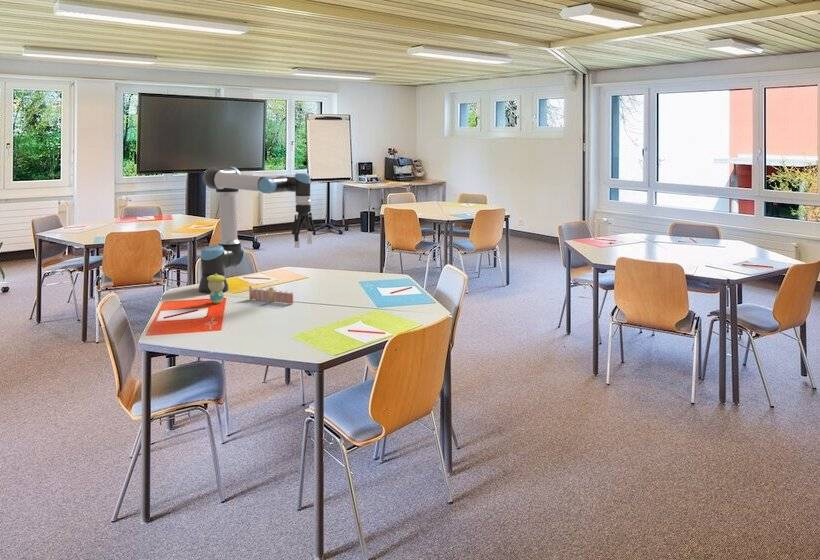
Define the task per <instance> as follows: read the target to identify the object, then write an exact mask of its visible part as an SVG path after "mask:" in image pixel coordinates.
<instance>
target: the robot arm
mask: <svg viewBox="0 0 820 560" xmlns="http://www.w3.org/2000/svg"><path fill="white" fill-rule="evenodd" d="M202 179H203V183H204V185H205V186H207V188H209V189H212V190H215V193H216V194H217V195H218V197H219V202H218V203H219V216H220V217H219V219H220V223H219V224H220V241H218V244H213V245H208V246H204V247H202V249H201V250H200V266H201V268H200V271H201V278H200V280H199V285H198V291H199V293H203V294H210V293H211V290H210V289H209V287H208V282H209V281H208V280H207V277H208V276H210V275H215V274H217V275H222V276H224V277H225V280H224V288H223V290H222V292H223V293H225V292H228V291H229V284H228V281H227V279H226V275H225V273H226V272H225V269H229V268H234V267H237V266H240V265H241V264H243V262H244V261H245V259H246V251H245V248H244V246H243V245H242V244H241V240H239V238H238V220H237V218H238V217H237V216H238V215H237V195H238V193H239V190H241V191H242V190H245V191H250V192H251V191H252V192H261V193H263V194H273V193H283V192H284V193H285V192H291V193H293V192H294V195H295V197H294V198H295V199H294V200H295V212H296V213H298V214H294V219H293V220H294V221H293V225H292V229H291V234H292V235H293V236H294V238H293V239H294V242H293V243H294V248H296V249H301V234H300V232H301V229H302V227H303V225H305V227H306V229H307V232H306V239H307V240H306V244H307V245H313V240H314V239H313V235H314V234H313V233H314V232H315V229H316V228H315V223H314V220H313V216H312V215H313V213H312V212H311V211H312V210H311V208H312V207H311V202H312V198H311V175H310V173H307V172H305V173H304V172H297V173H295V174H294V176H285V175H280V176H279V175H278V176H272V177H271V176H259V175H252V174H251V175H250V174H249V175H248V174H242V173H241V171H240V170H239V169H238V168H237V167H235V166H230V165H229V166H228V165H225V166H212V167H209V168H207V169H206V170H205V171H204V173H203V178H202Z"/></svg>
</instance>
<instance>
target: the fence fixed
mask: <svg viewBox="0 0 820 560" xmlns="http://www.w3.org/2000/svg"><path fill="white" fill-rule="evenodd" d="M274 290H275V288H274V287H270V286H269V287H268V288H266V289H265V288H264V287H263V288H261V289H260V288H259V287H256V288H255V287H254V286H253V285H249V286H248V291H249V292H248V295H249V296H248V297H249V300H250V301H253V300H264V301H269V302H271V303H272V302H274Z"/></svg>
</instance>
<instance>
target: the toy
mask: <svg viewBox="0 0 820 560" xmlns="http://www.w3.org/2000/svg"><path fill="white" fill-rule="evenodd" d="M225 278H226V276H225V277H224V276H222V275H217V274H215V275H210V276H208V277H207V280H208V281H209V282H208V287H209V289H210V290H211V293H209V299H210V301H211V302H212V303H213V304H215V305H216V304H217V305H218V304H220V303H221V302H222V301H223V299H224V292H222V290H223V288H224V280H225Z"/></svg>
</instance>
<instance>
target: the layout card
mask: <svg viewBox="0 0 820 560" xmlns="http://www.w3.org/2000/svg"><path fill="white" fill-rule="evenodd" d="M242 305H244V306H251V307H260V308H267V309H276V310H278V309H281V308H283V307H286V306H288V305H290V304H289V303H281V302H272V303H271V302H269V301H264V300H255V299H252V300H250V301H248V302H245V303H242Z"/></svg>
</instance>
